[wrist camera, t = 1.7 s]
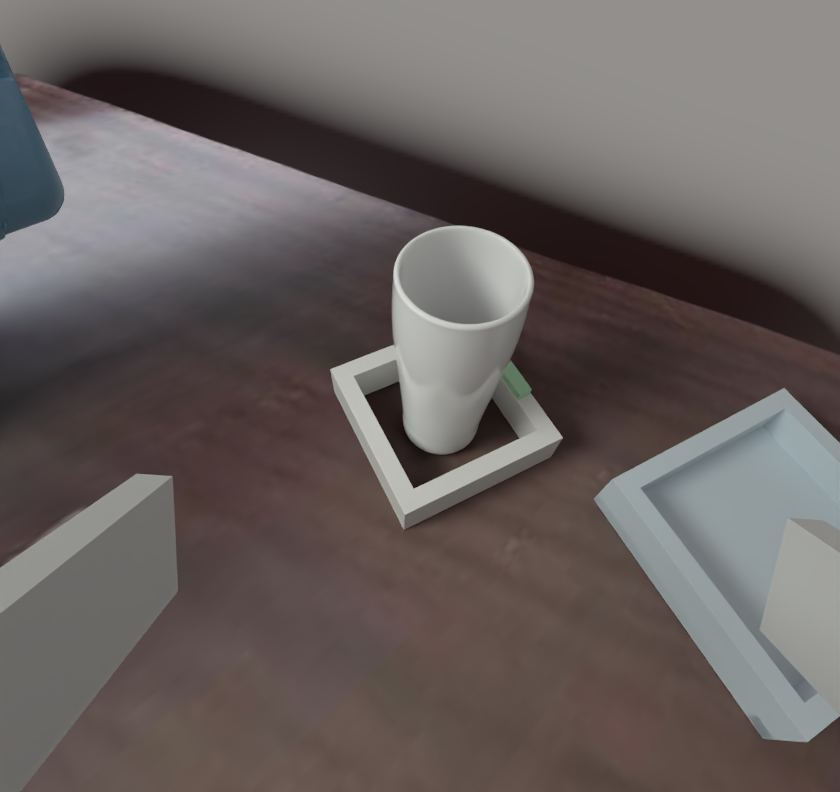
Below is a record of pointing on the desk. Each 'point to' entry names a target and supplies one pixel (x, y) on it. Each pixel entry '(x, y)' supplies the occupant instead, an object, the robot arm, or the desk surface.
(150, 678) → the desk surface
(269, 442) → the desk surface
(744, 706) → the tray
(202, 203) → the desk surface
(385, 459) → the frame
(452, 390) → the drinking glass
